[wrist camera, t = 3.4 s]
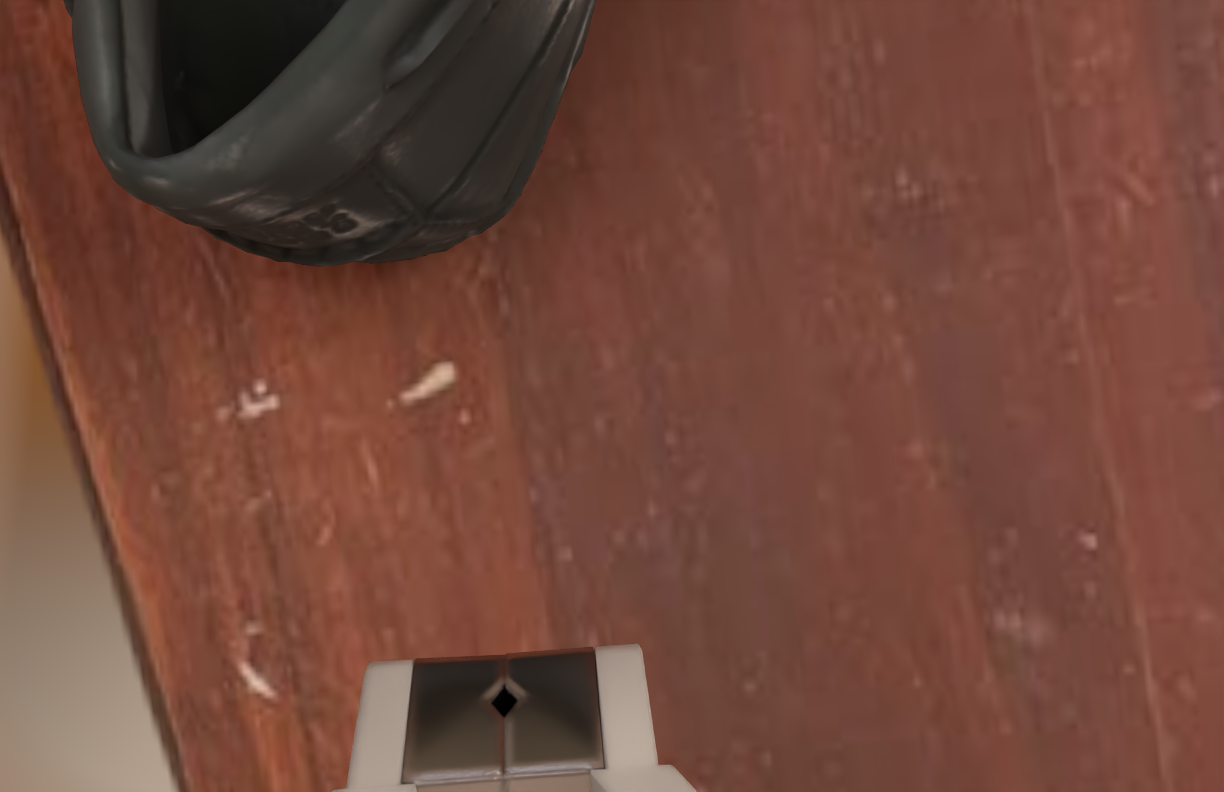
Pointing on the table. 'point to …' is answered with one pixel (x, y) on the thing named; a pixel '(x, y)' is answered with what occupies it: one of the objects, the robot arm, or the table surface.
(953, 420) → the table surface
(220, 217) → the loafer
